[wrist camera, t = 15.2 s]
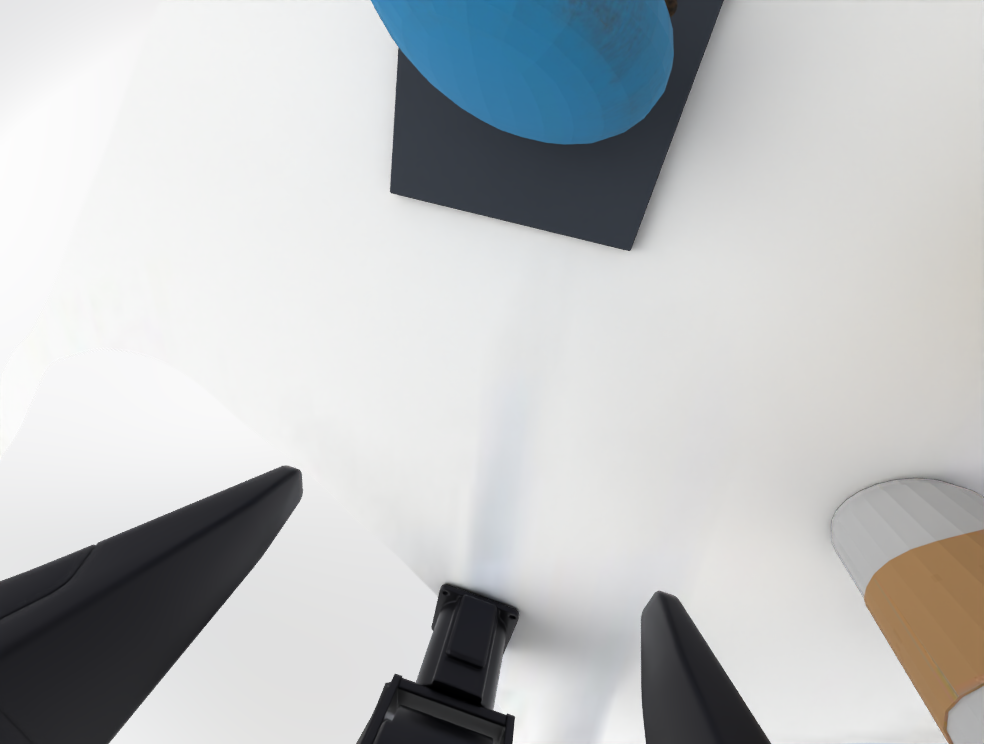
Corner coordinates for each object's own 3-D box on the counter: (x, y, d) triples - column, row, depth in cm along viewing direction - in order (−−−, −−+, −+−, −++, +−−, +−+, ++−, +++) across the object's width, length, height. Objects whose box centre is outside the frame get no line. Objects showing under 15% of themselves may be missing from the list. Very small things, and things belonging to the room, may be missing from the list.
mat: (629, 249, 16) (630, 251, 15) (394, 192, 17) (389, 192, 16) (771, -135, 11) (779, -150, 10) (418, -180, 12) (412, -195, 11)
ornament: (680, 35, 12) (933, -367, 3) (612, 181, 14) (658, 165, 6) (455, -56, 12) (149, -649, 4) (422, 102, 15) (182, -31, 6)
